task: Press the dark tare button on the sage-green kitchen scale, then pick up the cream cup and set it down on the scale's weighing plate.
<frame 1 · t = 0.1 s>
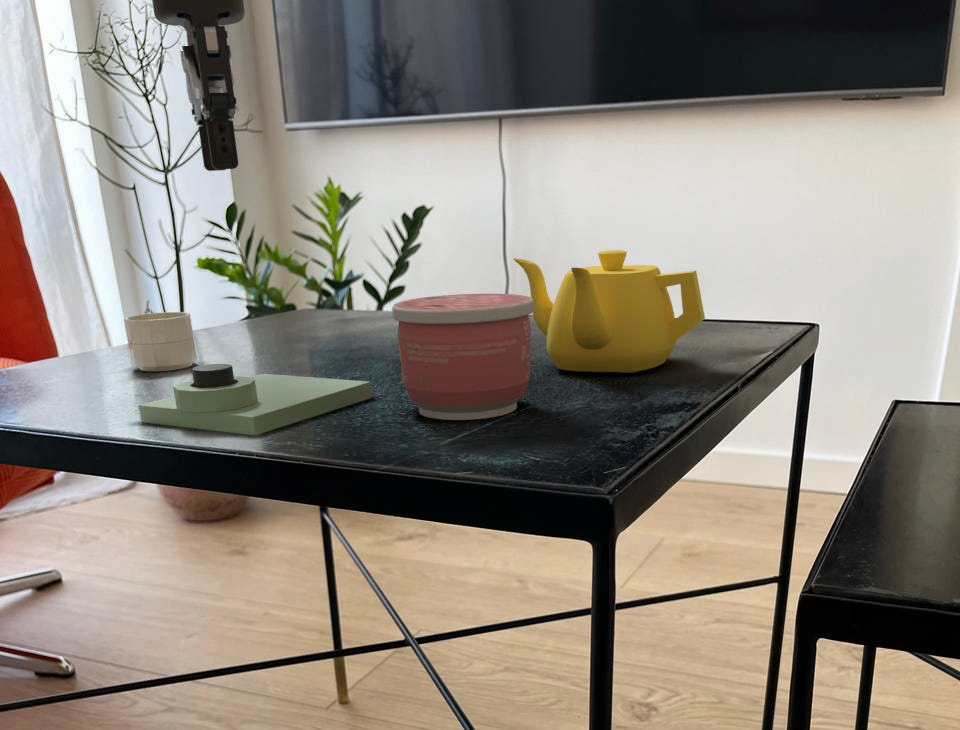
hand: (221, 169, 91), 18 cm above the table, tool pointing down, fingers open, 8 cm apart
tare button: (213, 377, 77), point 3 cm above the table, slide at 0.1 cm
scale: (260, 410, 82), on the table
container: (468, 412, 78), on the table
teapot: (602, 369, 93), on the table
cream cup: (166, 366, 104), on the table
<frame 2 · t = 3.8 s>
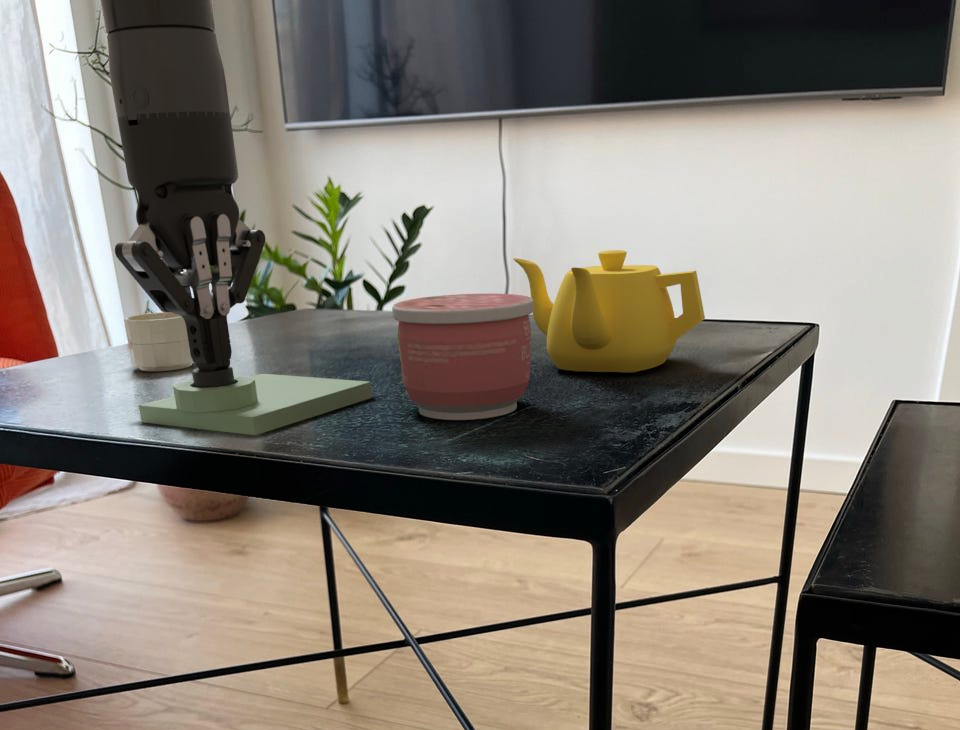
hand: (213, 368, 76), 4 cm above the table, tool pointing down, fingers closed
tare button: (213, 379, 77), point 3 cm above the table, slide at 0.0 cm, touching gripper
everything else where it was.
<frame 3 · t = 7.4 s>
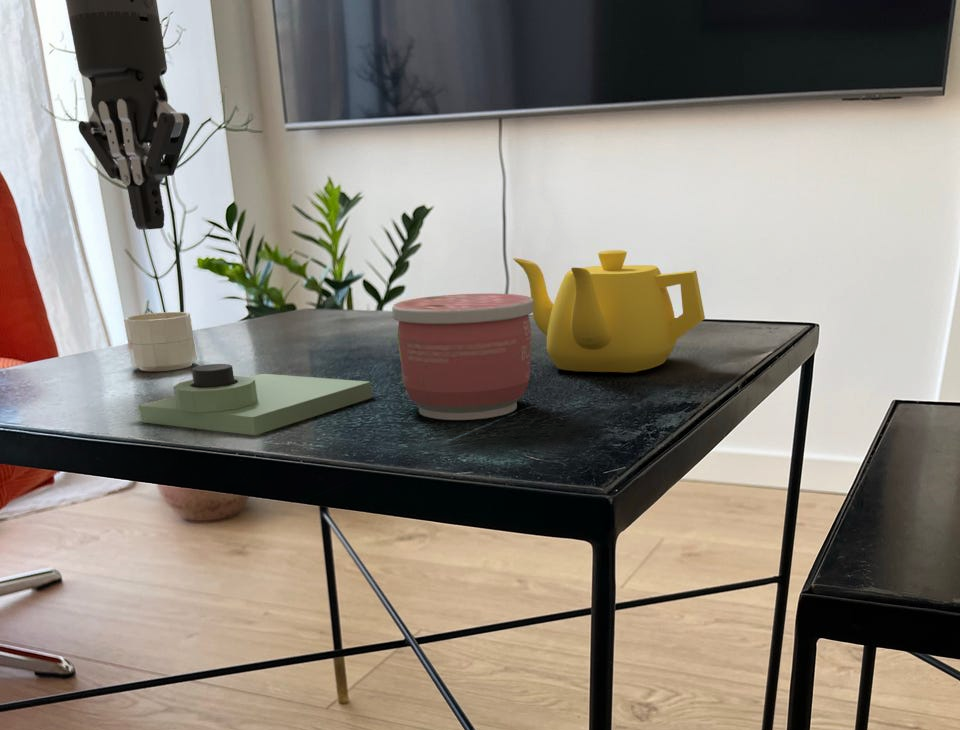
hand: (150, 228, 95), 13 cm above the table, tool pointing down, fingers closed
tare button: (213, 377, 77), point 3 cm above the table, slide at 0.1 cm
everything else where it was.
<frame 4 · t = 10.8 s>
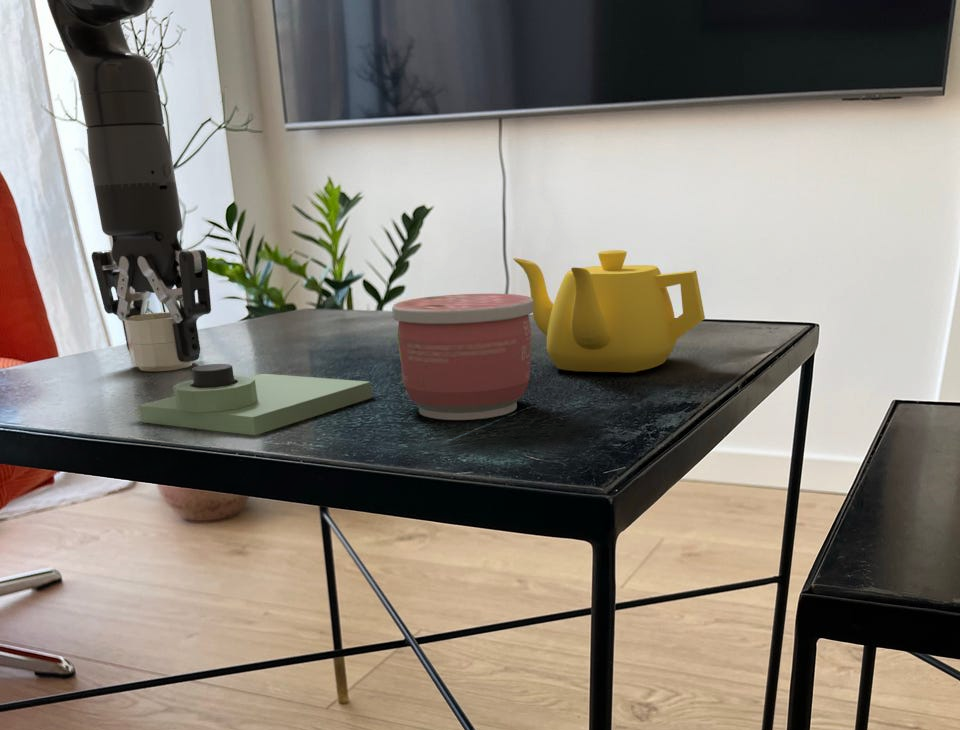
hand: (165, 358, 103), 1 cm above the table, tool pointing down, fingers closed on cream cup, 6 cm apart
cream cup: (165, 366, 104), on the table, touching gripper
everything else where it was.
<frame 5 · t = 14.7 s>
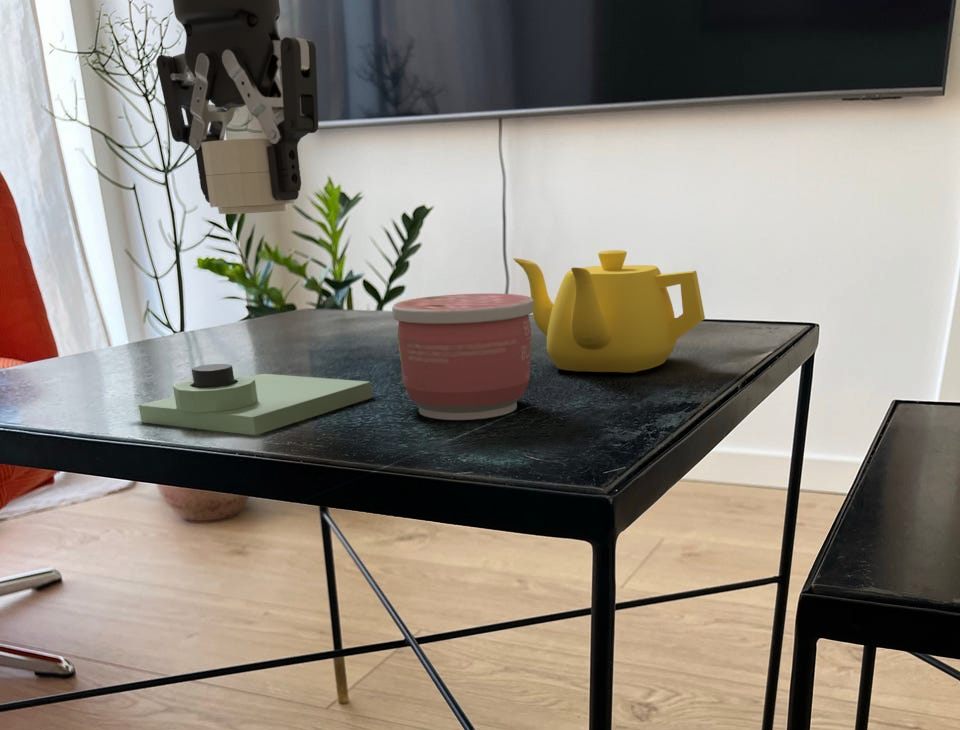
hand: (252, 200, 79), 15 cm above the table, tool pointing down, fingers closed on cream cup, 6 cm apart
cream cup: (253, 212, 79), point 15 cm above the table, touching gripper
everything else where it was.
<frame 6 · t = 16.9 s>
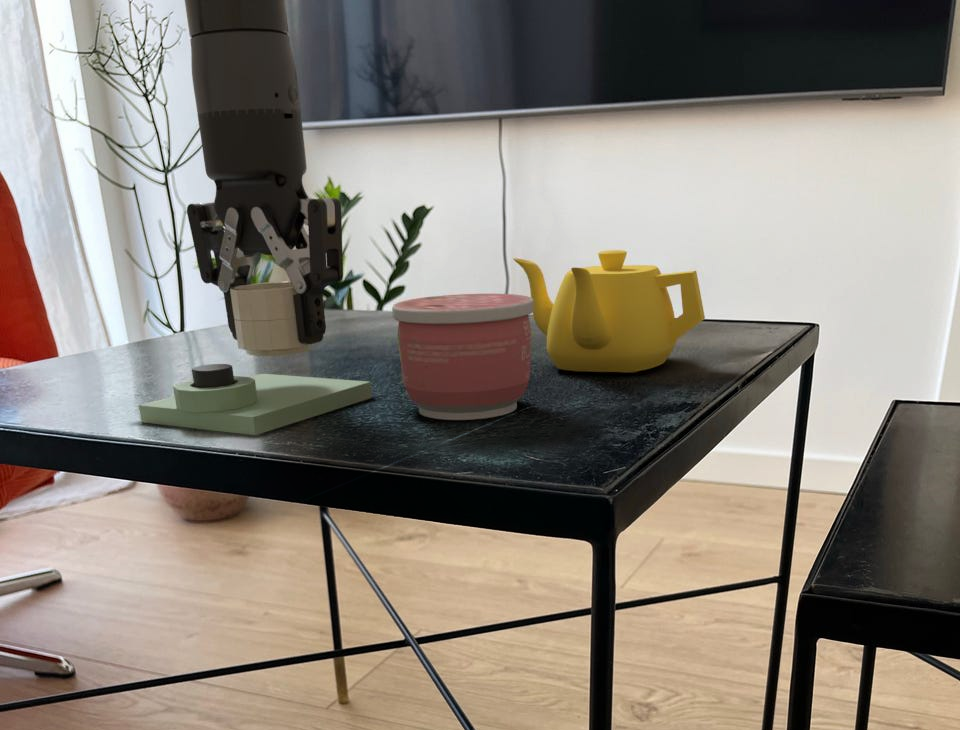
hand: (278, 340, 82), 5 cm above the table, tool pointing down, fingers closed on cream cup, 6 cm apart
cream cup: (279, 350, 82), point 4 cm above the table, touching gripper
everything else where it was.
when the fingers open (2 cm above the table, at t = 18.4 s): cream cup stays where it is, resting on scale.
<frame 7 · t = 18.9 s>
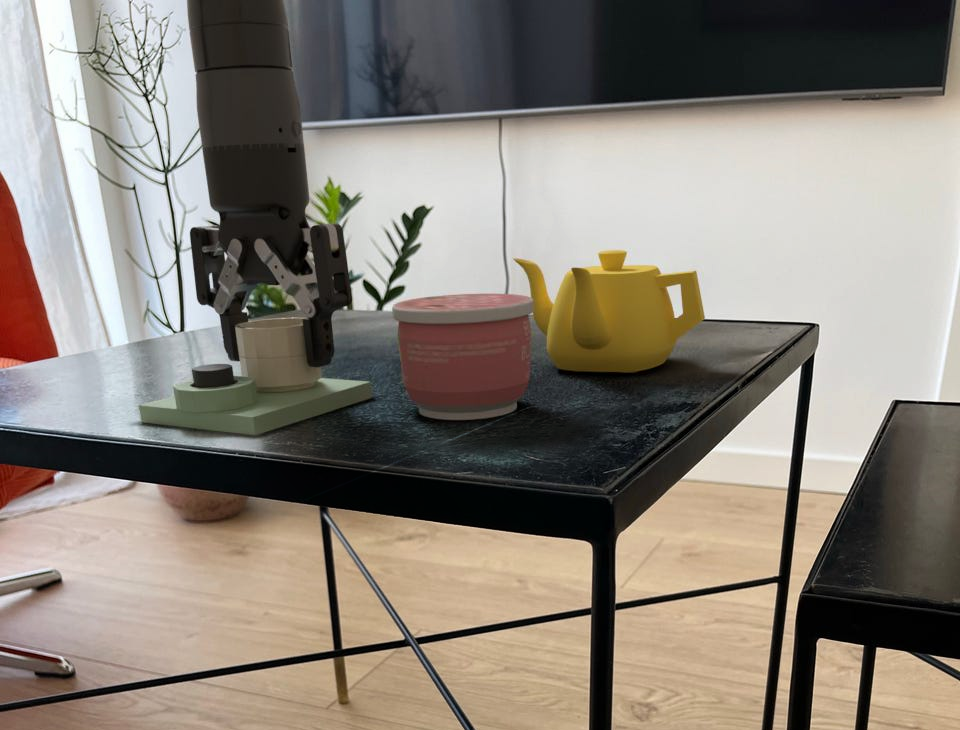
hand: (279, 362, 83), 3 cm above the table, tool pointing down, fingers open, 8 cm apart
cream cup: (283, 386, 83), point 1 cm above the table, touching scale
everything else where it was.
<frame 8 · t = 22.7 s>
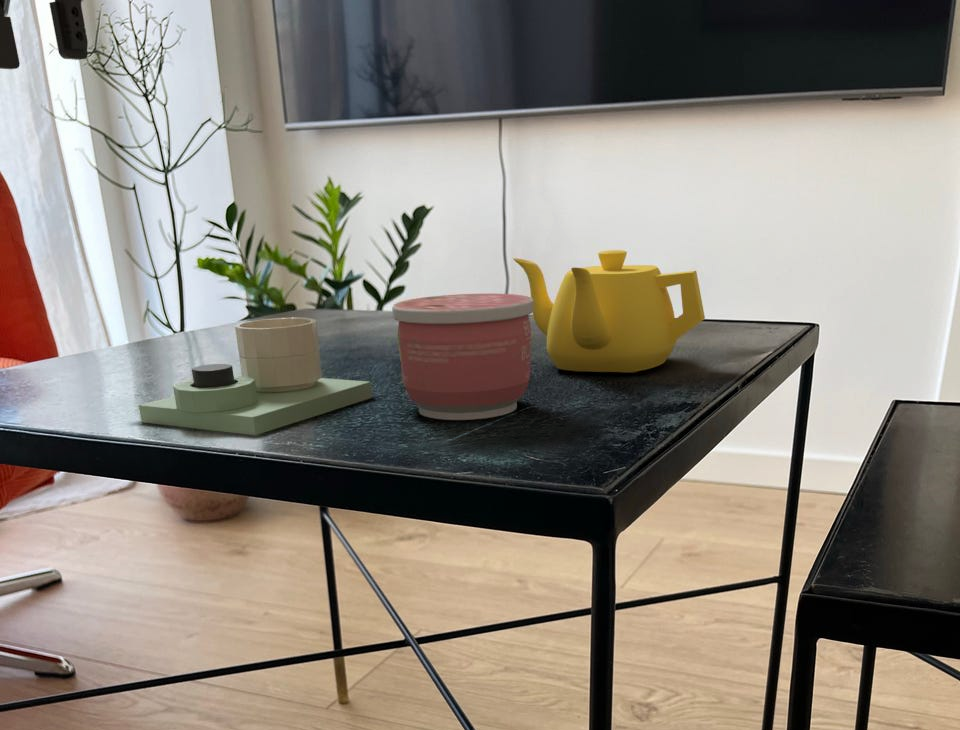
hand: (39, 63, 81), 26 cm above the table, tool pointing down, fingers open, 8 cm apart
nothing on the table moved.
at the end: tare button pushed in 0.9 cm at the most during the clip, back to where it started at the end; cream cup inside the target area on the scale (0.2 cm from its centre), point 1.4 cm above the scale's base; cream cup touching scale; cream cup tilted 0° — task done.
